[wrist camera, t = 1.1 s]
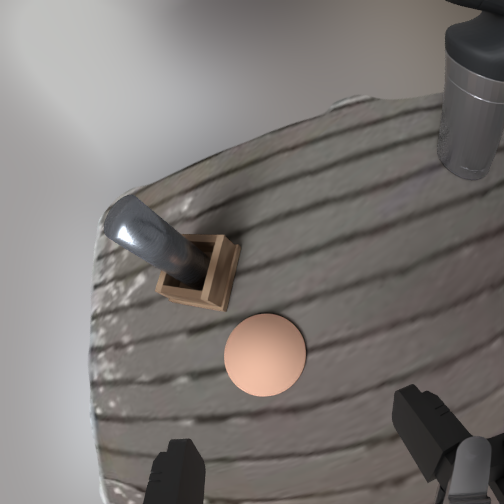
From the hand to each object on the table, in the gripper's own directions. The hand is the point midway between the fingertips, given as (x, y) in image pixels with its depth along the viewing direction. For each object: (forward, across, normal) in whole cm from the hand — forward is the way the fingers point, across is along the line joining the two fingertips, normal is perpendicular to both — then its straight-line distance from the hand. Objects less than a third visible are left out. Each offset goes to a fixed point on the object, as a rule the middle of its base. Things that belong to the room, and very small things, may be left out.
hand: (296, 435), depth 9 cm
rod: (+30, +7, +1) cm, 31 cm away
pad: (+22, +1, +10) cm, 24 cm away
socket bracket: (+31, +7, +2) cm, 32 cm away
